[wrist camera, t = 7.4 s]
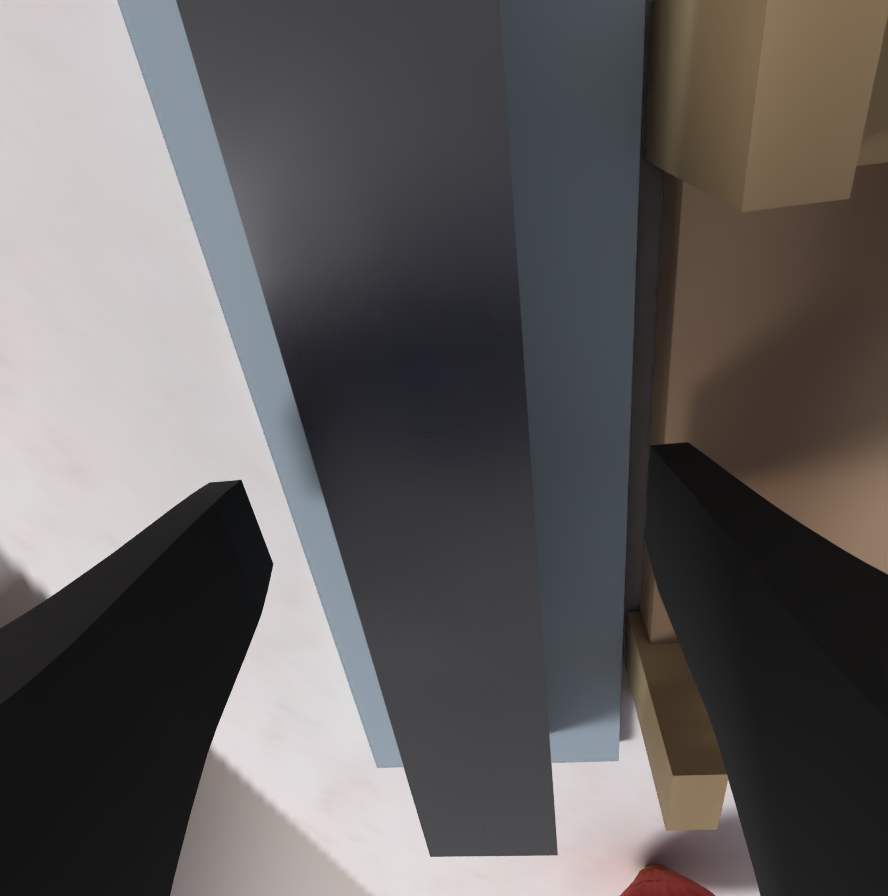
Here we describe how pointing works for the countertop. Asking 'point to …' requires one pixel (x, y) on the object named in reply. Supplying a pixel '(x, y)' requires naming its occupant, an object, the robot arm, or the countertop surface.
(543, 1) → the mat
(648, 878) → the onion
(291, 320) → the rail
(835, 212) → the rack
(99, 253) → the countertop surface
